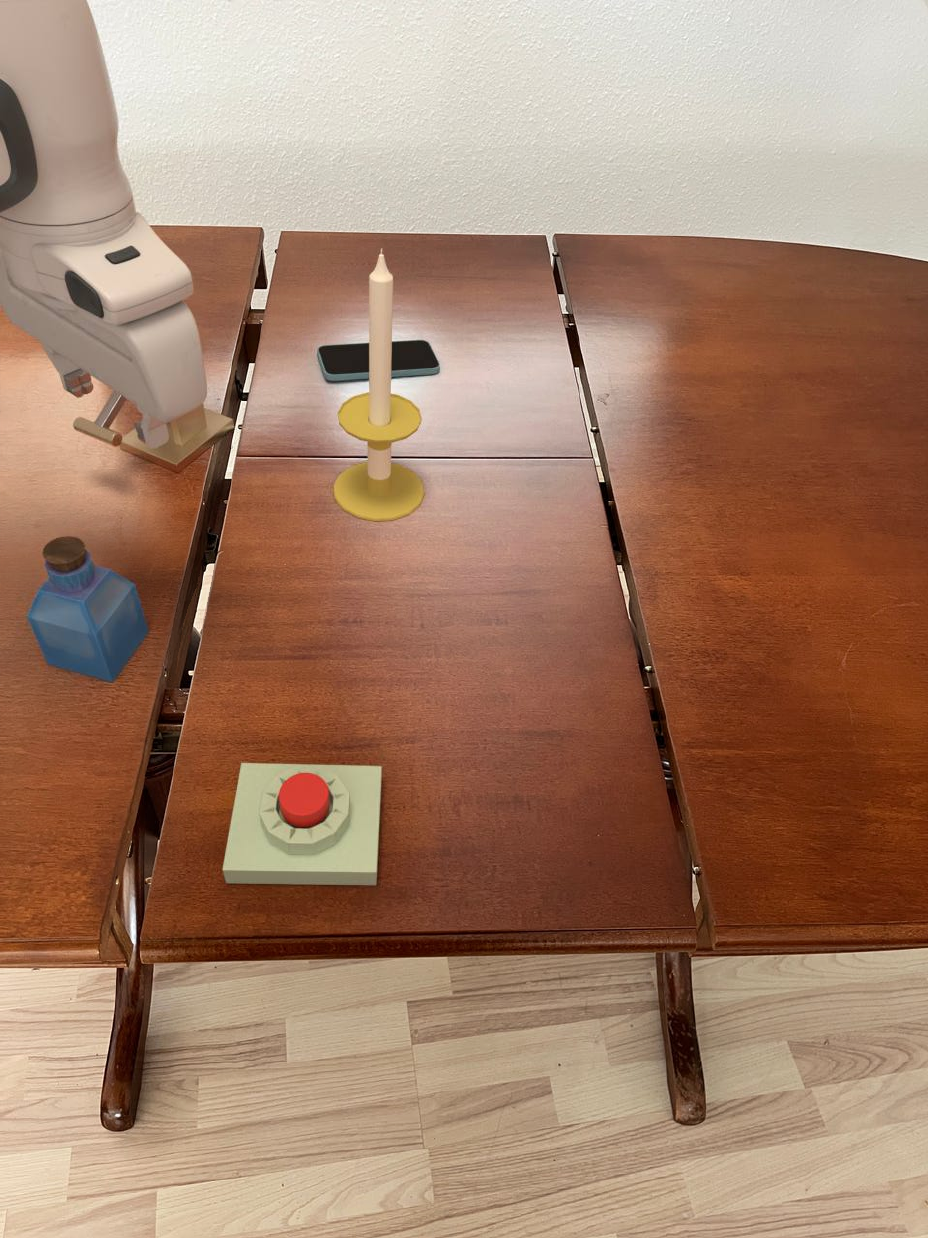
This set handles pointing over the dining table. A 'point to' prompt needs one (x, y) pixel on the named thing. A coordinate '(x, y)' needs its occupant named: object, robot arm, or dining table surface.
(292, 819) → the button
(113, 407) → the lever
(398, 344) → the smartphone
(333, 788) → the control box
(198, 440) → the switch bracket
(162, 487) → the dining table surface
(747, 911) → the dining table surface
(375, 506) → the candle
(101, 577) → the perfume bottle
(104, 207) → the robot arm
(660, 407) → the dining table surface
